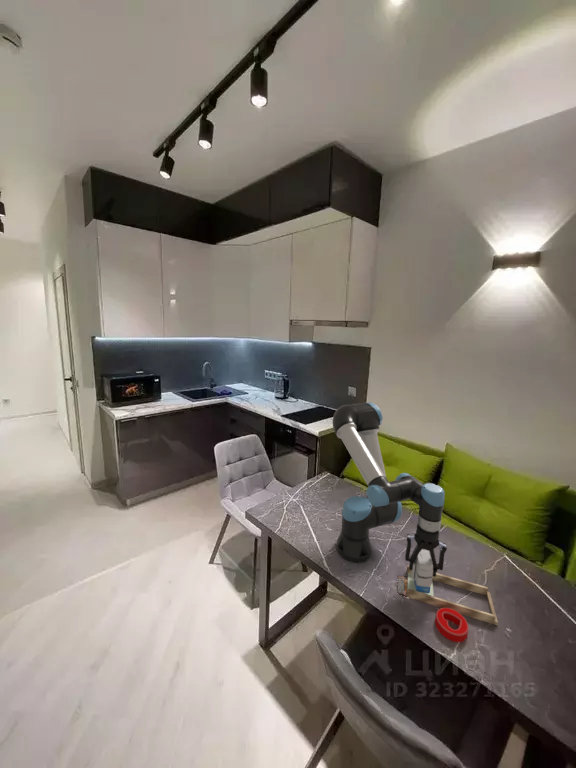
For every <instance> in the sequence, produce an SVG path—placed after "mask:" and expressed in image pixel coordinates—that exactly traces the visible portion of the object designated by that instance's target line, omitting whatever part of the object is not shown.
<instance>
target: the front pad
mask: <svg viewBox="0 0 576 768" xmlns="http://www.w3.org/2000/svg"><path fill="white" fill-rule="evenodd" d="M407 578H408V589H411V590H414V591H416V587H415V583H414V580H413V579H411V573H409V572H408V573H407ZM433 581H434V580H432V584H431V587H430V593H425V592H421V593H424V594H428V595H431V596H434V597H435V595H434V583H433ZM418 592H419V591H418Z"/></svg>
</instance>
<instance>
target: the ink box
mask: <svg viewBox="0 0 576 768" xmlns="http://www.w3.org/2000/svg"><path fill="white" fill-rule="evenodd" d="M432 572H433V564H432V559H431V554H430V551H428V550H426V549H422V550H421V551H420V552H419V554H418V556H417V558H416V560H415V572H414V583H415V587H416V591H419V592H425V593H430V587H431V579H432Z"/></svg>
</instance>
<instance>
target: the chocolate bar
mask: <svg viewBox="0 0 576 768" xmlns="http://www.w3.org/2000/svg"><path fill="white" fill-rule="evenodd" d="M397 581H398V582H396V583H397V584H398V585H397V584H396V591H397V593H398V594H399V595H398V594H397V595H398V596H401V595H402V596H401V597H403V596H405V597H406V590H407V588H408V576H402V575H397Z"/></svg>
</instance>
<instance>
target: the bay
mask: <svg viewBox="0 0 576 768" xmlns="http://www.w3.org/2000/svg"><path fill="white" fill-rule="evenodd" d="M408 572H409V573H412V570H410V569H409V564H407V565H406V574H408ZM432 580H433V581H435V582H439V583H442V584H446V585H449V586H452V587H456V588H459V589H463V590H467V591H469V592H473V593H477V594H479V595H483V596H486V597H487V603H488V607H489V610H490V613H489V612H485V611H482V610H480V609H476V608H474V607H471V606H466V605H464V604H460V603H457V602H453V601H451V600H450V601H449V600H447V599H444V598H440V597H437V596H435V595H434V596H431V595H428V594H424V593H421V592H418V591H414V590H411V589H408V588H407V590H406V597H409V599H413V600H416V601H419V602H422V603H426V604H428V605H430V606H431V605H432V606H435V607H437V608H440V609H441V608H450V609H453V610H455V611H457V612H458V613H460V614H461V615H462V616H466V617H470V618H473V619H476V620H479V621H482V622H486V623H489V624H492V625H494V626H495V625H496V626H498V625H499V621H498V617H497V614H496V611H495V610H496V609H495V606H494V603H493V598H492V594H491V592H490V591H489V587H488V586H484V585H481V584H478V583H474V582H470V581H468V580H467V581H466V580H464V579H463V580H462V579H460V578H456V577H452V576H449V575H445V574H442V573H439V572H436V576H435V577H434V576H433V577H432Z"/></svg>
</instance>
